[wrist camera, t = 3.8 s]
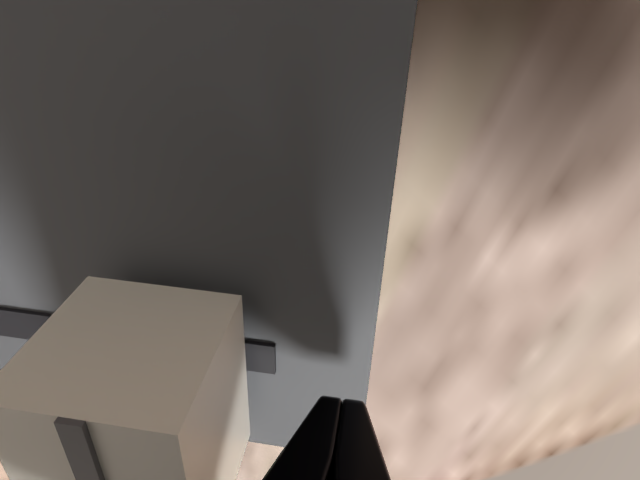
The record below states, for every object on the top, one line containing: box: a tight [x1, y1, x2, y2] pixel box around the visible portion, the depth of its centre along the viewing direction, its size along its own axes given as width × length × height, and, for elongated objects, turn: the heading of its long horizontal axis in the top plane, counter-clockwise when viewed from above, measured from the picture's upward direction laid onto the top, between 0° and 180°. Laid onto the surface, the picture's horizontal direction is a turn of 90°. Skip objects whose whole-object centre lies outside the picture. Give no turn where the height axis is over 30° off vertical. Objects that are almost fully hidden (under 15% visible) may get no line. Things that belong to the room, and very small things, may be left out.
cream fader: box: [0, 276, 250, 480], centre depth 9 cm, size 3×4×3 cm
